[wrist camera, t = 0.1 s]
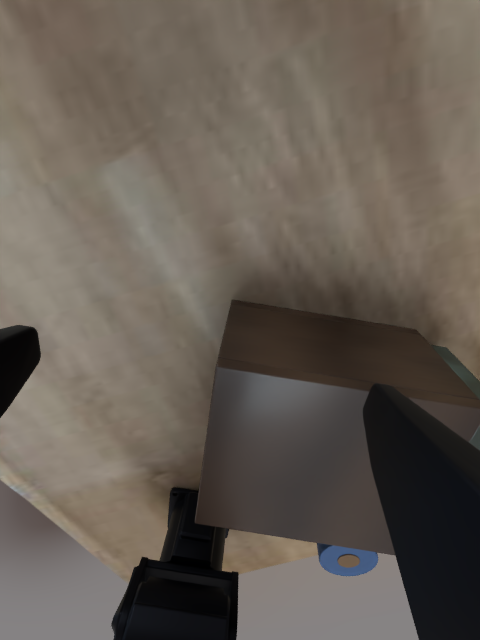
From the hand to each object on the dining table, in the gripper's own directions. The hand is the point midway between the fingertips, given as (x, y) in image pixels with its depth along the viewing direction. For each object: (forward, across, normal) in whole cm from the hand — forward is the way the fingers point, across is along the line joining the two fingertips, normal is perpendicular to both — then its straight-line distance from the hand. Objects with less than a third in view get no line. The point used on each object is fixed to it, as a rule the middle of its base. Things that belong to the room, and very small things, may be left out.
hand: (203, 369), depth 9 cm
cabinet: (+15, -7, +10) cm, 19 cm away
